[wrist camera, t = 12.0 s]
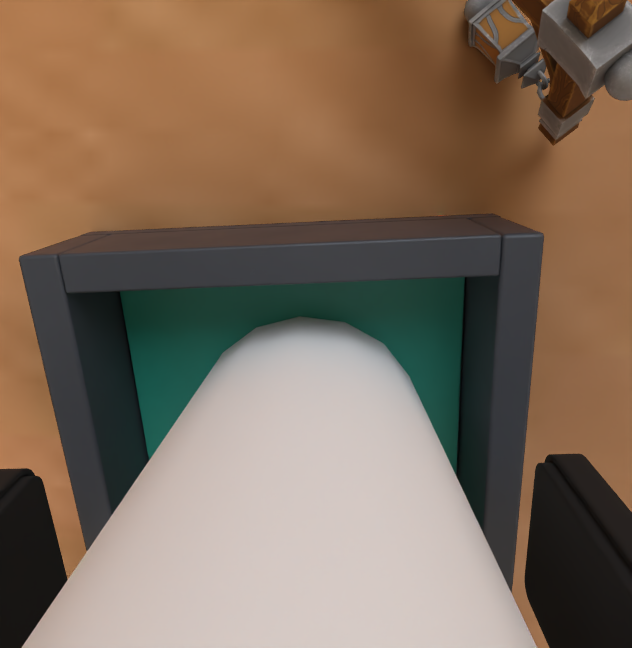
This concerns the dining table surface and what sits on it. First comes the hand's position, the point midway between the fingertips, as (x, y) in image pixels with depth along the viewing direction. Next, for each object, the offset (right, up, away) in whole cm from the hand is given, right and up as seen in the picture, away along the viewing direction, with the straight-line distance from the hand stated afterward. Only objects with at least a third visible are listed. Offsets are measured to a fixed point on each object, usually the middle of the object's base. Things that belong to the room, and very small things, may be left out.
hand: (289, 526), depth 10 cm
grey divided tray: (0, -3, +6) cm, 7 cm away
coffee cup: (0, +1, +4) cm, 4 cm away
